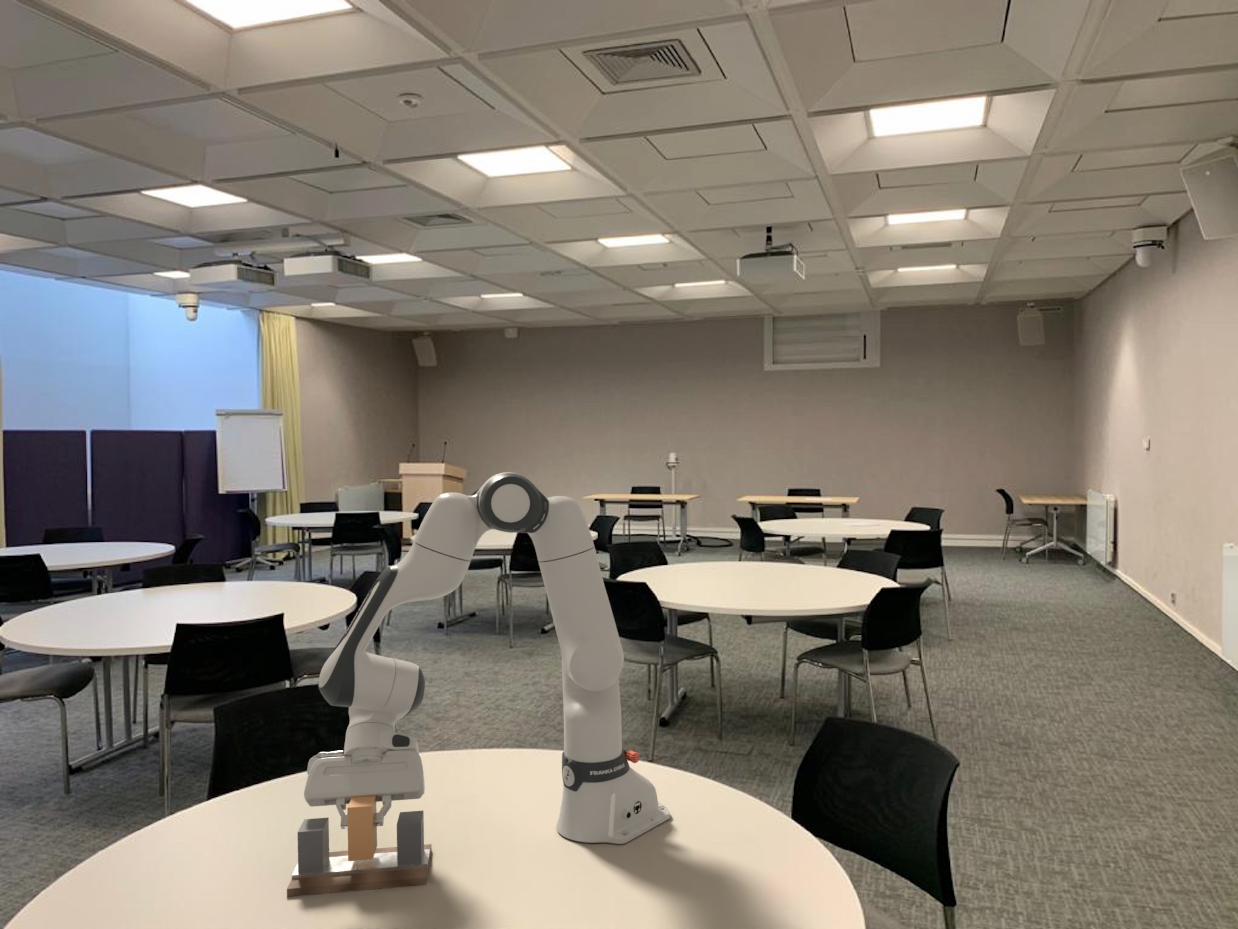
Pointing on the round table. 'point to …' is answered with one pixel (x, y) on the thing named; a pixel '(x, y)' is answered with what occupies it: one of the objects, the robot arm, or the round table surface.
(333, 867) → the light grey flat plate
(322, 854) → the mounted modules
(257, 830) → the round table surface
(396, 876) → the board
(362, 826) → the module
